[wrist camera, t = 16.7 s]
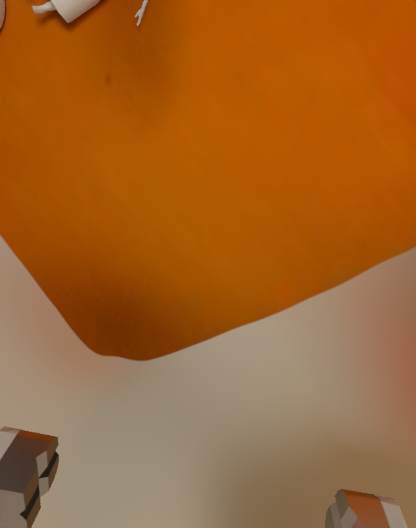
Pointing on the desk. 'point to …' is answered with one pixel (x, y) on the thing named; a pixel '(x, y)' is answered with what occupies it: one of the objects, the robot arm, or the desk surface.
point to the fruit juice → (2, 12)
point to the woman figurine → (75, 8)
